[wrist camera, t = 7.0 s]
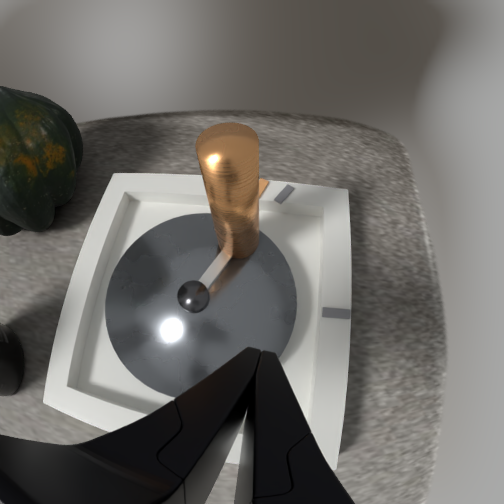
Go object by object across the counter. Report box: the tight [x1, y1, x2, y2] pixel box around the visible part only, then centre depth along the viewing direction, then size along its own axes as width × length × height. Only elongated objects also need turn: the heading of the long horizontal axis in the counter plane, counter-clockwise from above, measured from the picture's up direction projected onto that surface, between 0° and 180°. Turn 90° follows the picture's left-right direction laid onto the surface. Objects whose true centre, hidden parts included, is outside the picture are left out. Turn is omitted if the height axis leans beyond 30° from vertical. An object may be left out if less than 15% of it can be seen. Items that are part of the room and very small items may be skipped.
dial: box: [105, 123, 297, 398], centre depth 15 cm, size 13×13×10 cm
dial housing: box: [43, 173, 351, 470], centre depth 20 cm, size 20×20×3 cm
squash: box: [0, 86, 83, 236], centre depth 21 cm, size 14×15×15 cm
